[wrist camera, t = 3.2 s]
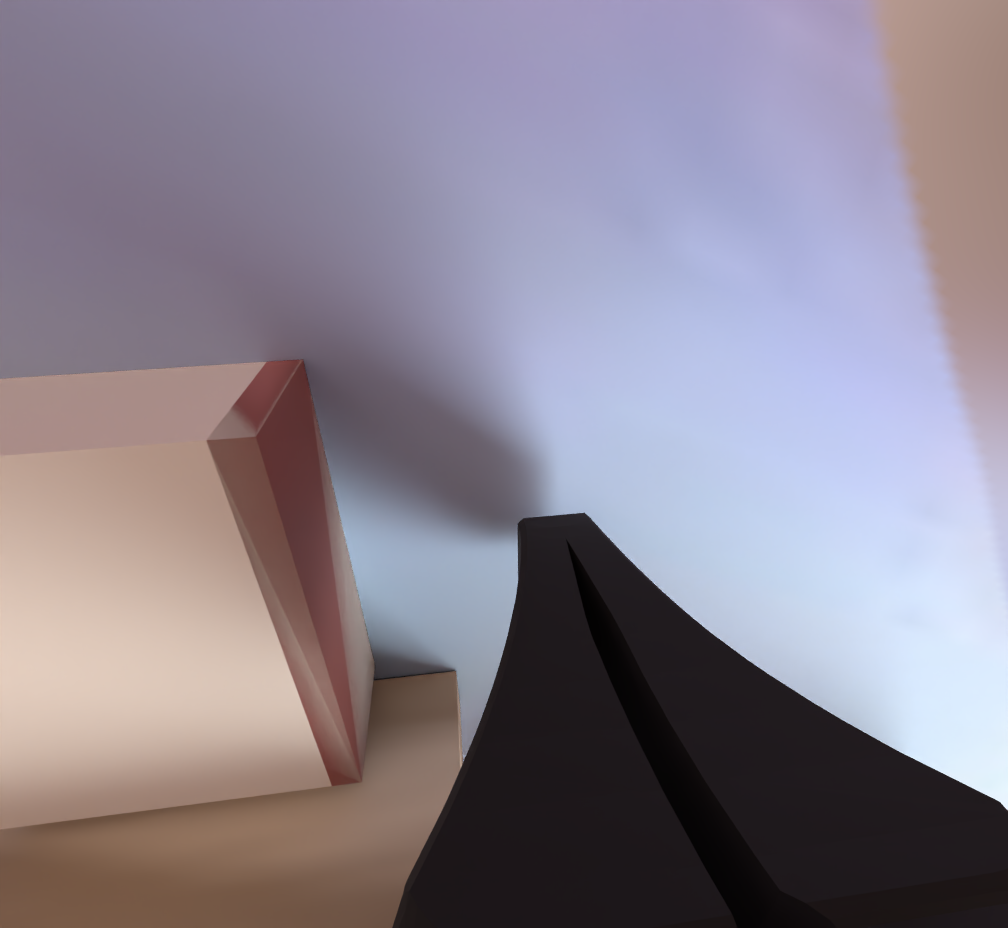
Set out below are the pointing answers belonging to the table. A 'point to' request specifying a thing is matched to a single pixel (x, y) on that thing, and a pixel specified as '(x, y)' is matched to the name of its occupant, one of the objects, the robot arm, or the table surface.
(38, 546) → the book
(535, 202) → the table surface
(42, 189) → the table surface
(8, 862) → the shelf
